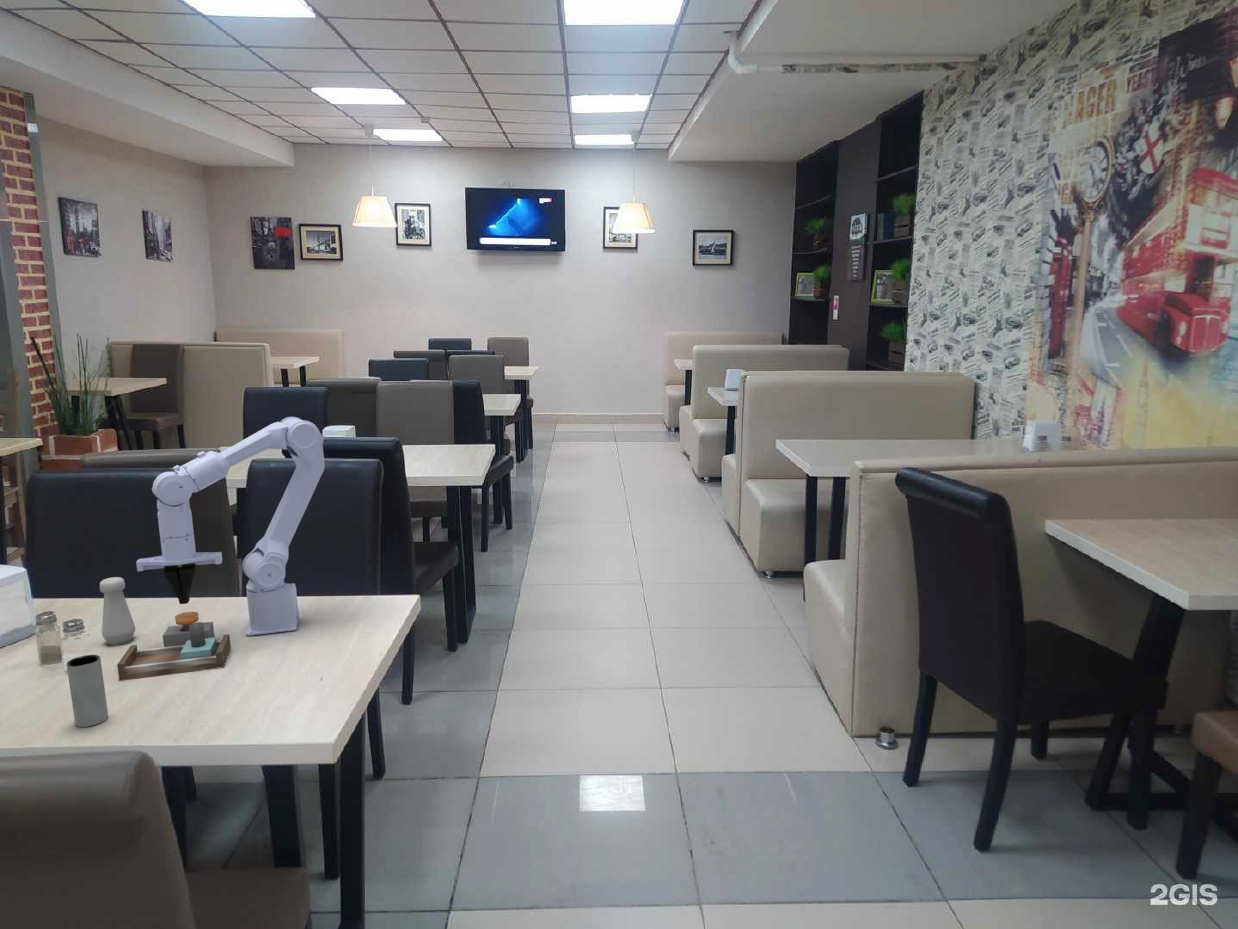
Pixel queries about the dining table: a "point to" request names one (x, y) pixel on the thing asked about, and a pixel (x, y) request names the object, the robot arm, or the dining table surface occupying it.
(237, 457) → the robot arm
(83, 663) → the planter
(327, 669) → the dining table surface
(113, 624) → the salt shaker
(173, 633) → the grey rectangular block
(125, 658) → the rail board
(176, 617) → the button
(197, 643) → the blue block with peg
